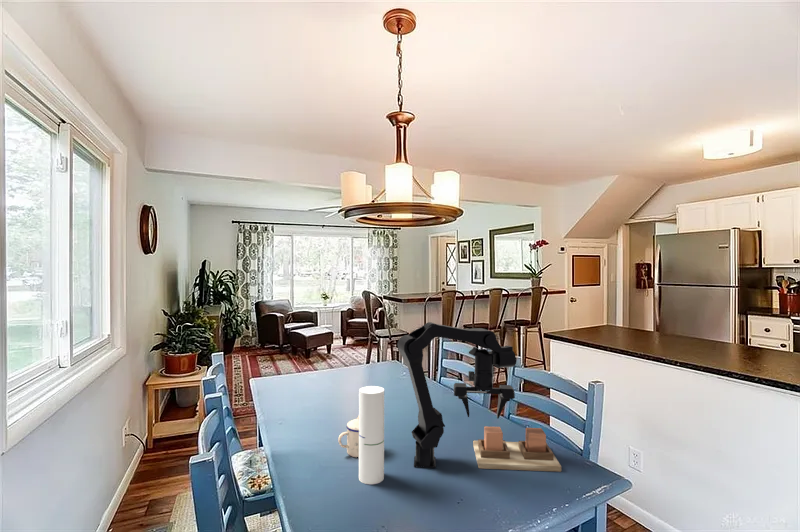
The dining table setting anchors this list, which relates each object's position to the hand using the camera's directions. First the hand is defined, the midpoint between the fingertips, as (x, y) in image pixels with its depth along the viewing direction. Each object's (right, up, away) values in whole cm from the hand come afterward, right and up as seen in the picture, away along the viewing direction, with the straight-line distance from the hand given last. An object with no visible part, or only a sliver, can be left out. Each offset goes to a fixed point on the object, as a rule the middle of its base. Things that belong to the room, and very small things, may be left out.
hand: (483, 417), depth 133 cm
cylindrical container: (-35, -12, -15) cm, 39 cm away
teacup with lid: (-41, -12, +1) cm, 42 cm away
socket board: (+9, -12, -2) cm, 15 cm away
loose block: (+3, -10, -2) cm, 11 cm away
